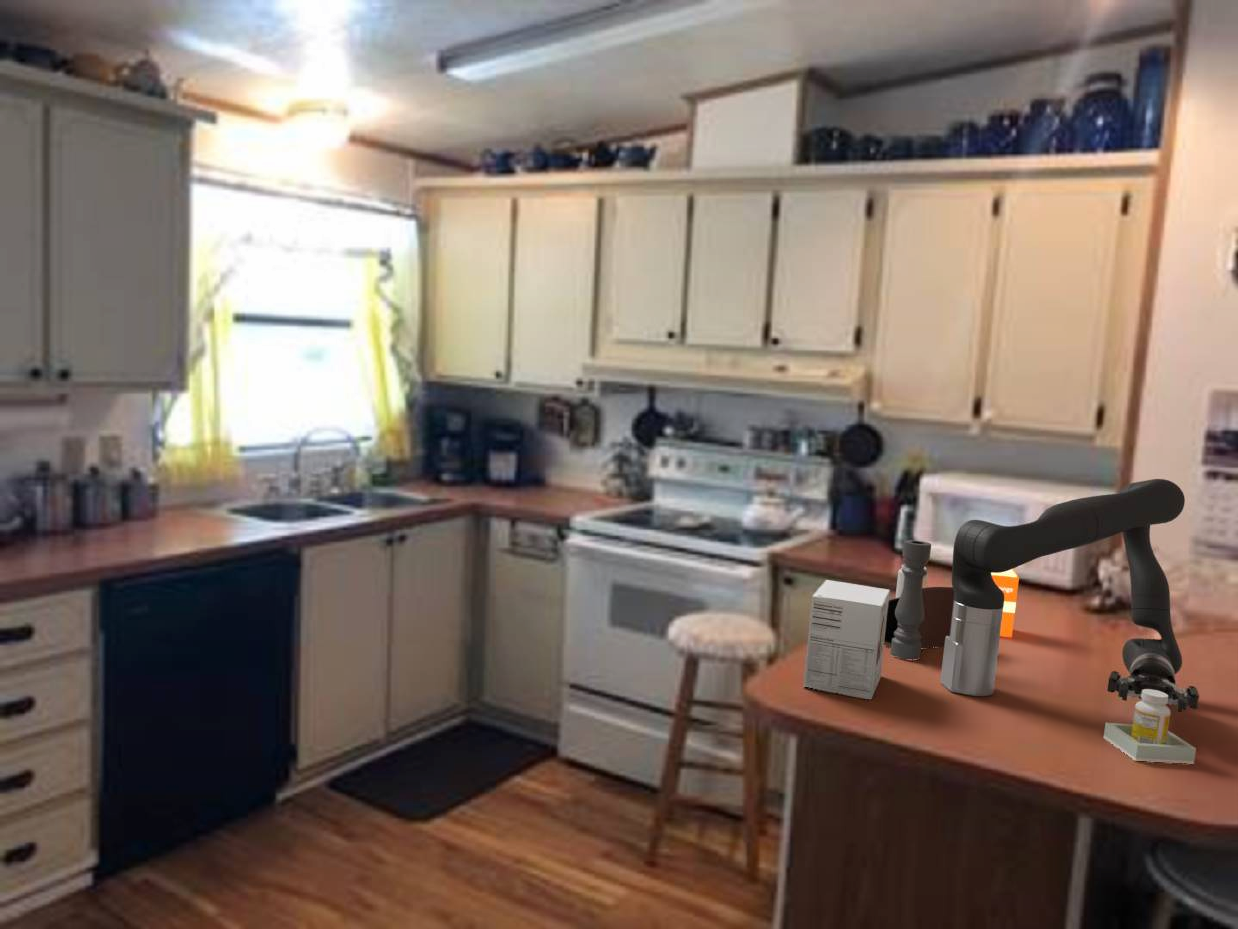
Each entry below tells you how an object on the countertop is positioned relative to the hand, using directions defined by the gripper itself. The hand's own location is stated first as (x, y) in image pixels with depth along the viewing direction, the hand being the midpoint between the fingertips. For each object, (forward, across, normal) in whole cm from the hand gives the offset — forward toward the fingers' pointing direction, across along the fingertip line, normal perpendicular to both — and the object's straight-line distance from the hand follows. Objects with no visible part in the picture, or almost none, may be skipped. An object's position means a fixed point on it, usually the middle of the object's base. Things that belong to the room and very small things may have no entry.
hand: (1152, 700), depth 174 cm
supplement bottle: (+4, 0, +7) cm, 8 cm away
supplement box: (+3, -53, +8) cm, 54 cm away
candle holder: (-24, -47, +8) cm, 53 cm away
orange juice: (-62, -34, +8) cm, 71 cm away
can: (-66, -54, +8) cm, 86 cm away
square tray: (+4, 0, +8) cm, 9 cm away
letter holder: (-37, -47, +8) cm, 61 cm away
